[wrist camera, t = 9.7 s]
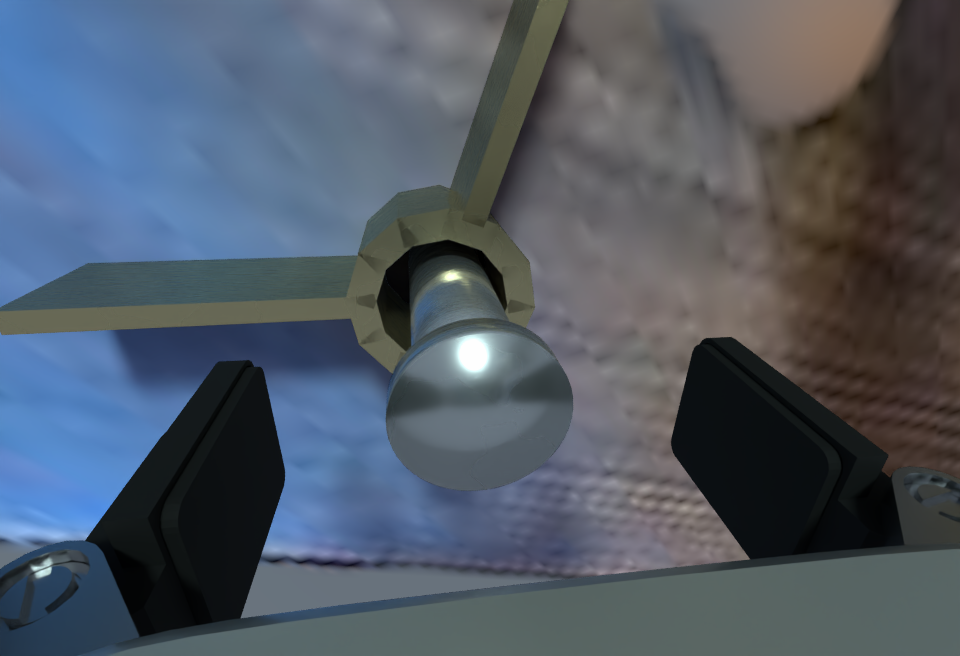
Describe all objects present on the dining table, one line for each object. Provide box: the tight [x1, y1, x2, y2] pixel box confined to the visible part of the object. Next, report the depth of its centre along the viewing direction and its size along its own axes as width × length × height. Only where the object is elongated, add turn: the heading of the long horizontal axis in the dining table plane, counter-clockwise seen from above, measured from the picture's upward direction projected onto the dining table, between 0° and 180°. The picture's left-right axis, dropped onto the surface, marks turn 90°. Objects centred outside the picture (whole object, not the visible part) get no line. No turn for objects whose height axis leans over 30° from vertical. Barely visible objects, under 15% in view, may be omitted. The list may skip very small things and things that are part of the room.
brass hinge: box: [0, 0, 569, 374], centre depth 16 cm, size 17×19×5 cm
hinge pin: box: [386, 239, 573, 491], centre depth 16 cm, size 4×4×12 cm
